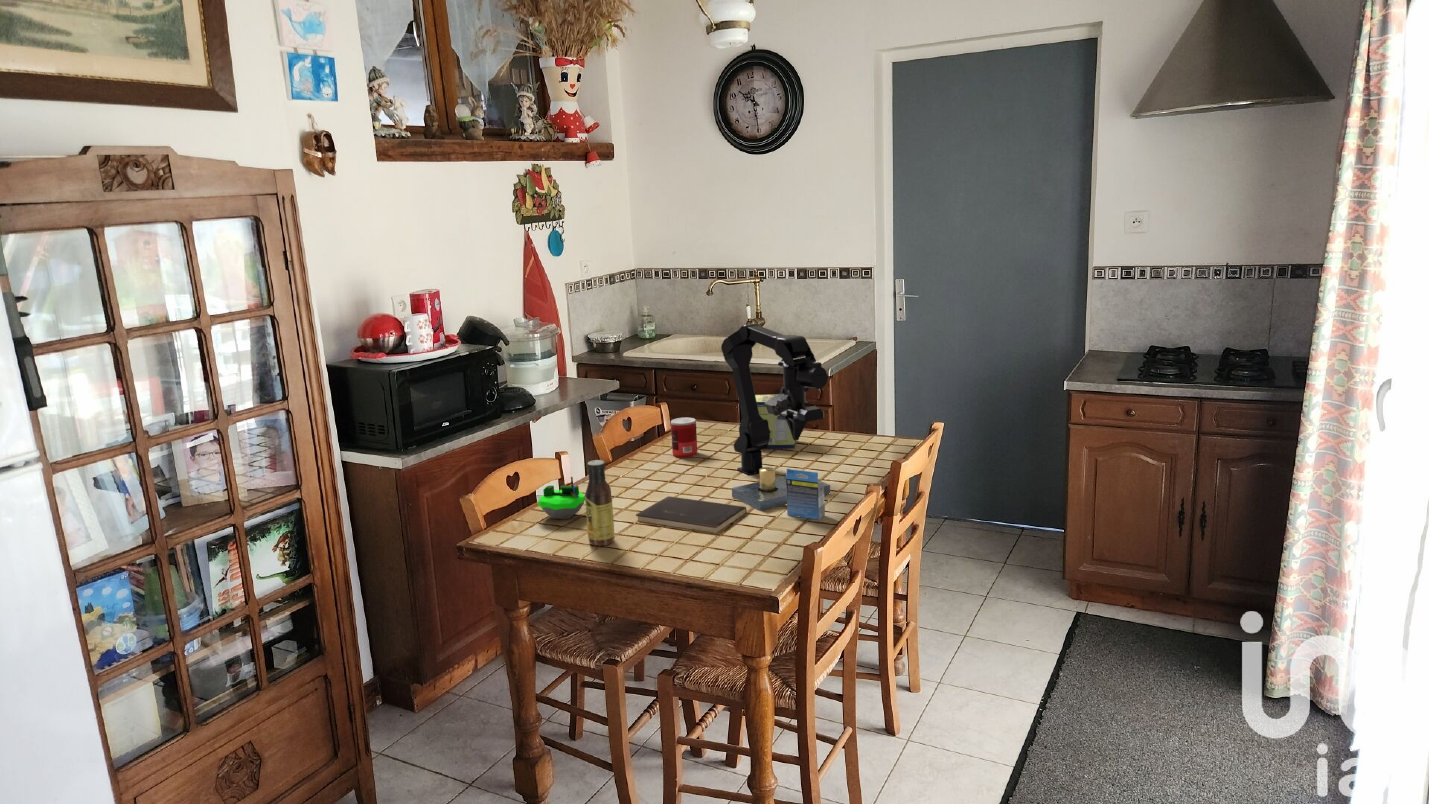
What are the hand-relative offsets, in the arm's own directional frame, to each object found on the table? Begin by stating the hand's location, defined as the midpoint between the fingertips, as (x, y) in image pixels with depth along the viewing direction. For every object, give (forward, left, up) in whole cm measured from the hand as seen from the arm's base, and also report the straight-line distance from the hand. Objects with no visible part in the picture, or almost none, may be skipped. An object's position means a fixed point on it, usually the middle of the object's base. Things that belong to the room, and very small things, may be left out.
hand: (795, 440), depth 255 cm
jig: (+4, -8, -13) cm, 16 cm away
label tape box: (+21, -12, -13) cm, 28 cm away
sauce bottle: (+7, -61, -13) cm, 63 cm away
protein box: (-40, +18, -13) cm, 46 cm away
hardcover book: (+4, -35, -14) cm, 38 cm away
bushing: (+4, -12, -13) cm, 18 cm away
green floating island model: (-16, -62, -13) cm, 65 cm away
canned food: (-48, -9, -13) cm, 51 cm away
